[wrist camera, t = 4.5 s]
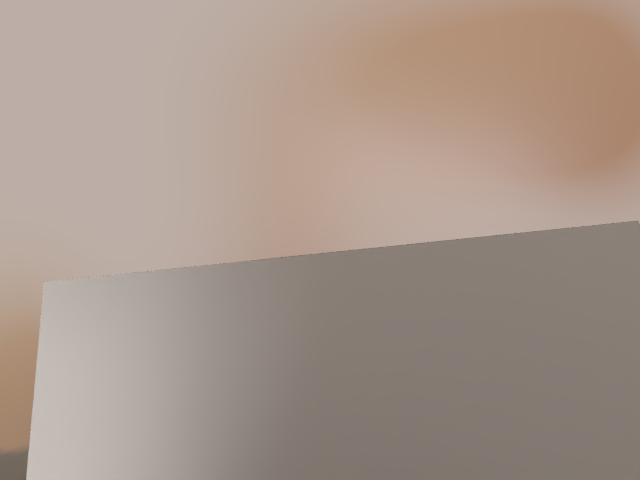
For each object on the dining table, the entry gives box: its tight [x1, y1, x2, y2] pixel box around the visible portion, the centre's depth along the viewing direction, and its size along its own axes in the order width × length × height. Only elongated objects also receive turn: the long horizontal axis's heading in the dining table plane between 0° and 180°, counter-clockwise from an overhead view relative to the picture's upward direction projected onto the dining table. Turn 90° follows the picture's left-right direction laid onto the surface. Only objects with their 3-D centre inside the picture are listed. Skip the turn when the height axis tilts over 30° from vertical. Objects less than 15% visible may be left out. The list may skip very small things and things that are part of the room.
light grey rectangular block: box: [26, 221, 640, 480], centre depth 8 cm, size 5×5×12 cm
